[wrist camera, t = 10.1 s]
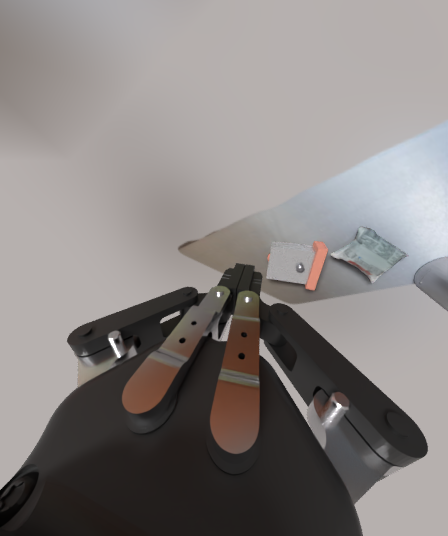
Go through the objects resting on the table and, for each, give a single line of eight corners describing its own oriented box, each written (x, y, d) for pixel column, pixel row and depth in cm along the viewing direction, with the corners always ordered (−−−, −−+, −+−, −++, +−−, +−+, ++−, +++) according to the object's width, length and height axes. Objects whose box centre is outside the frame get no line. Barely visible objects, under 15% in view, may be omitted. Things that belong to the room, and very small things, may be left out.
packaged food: (366, 277, 42) (376, 288, 38) (328, 251, 42) (334, 259, 38) (402, 250, 38) (418, 259, 33) (359, 221, 37) (370, 227, 33)
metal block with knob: (312, 245, 42) (317, 253, 37) (304, 275, 46) (306, 286, 42) (271, 240, 44) (271, 248, 40) (267, 270, 49) (266, 280, 44)
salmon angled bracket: (322, 242, 41) (328, 249, 37) (311, 279, 46) (314, 290, 42) (270, 237, 44) (270, 243, 40) (265, 273, 49) (264, 282, 45)
